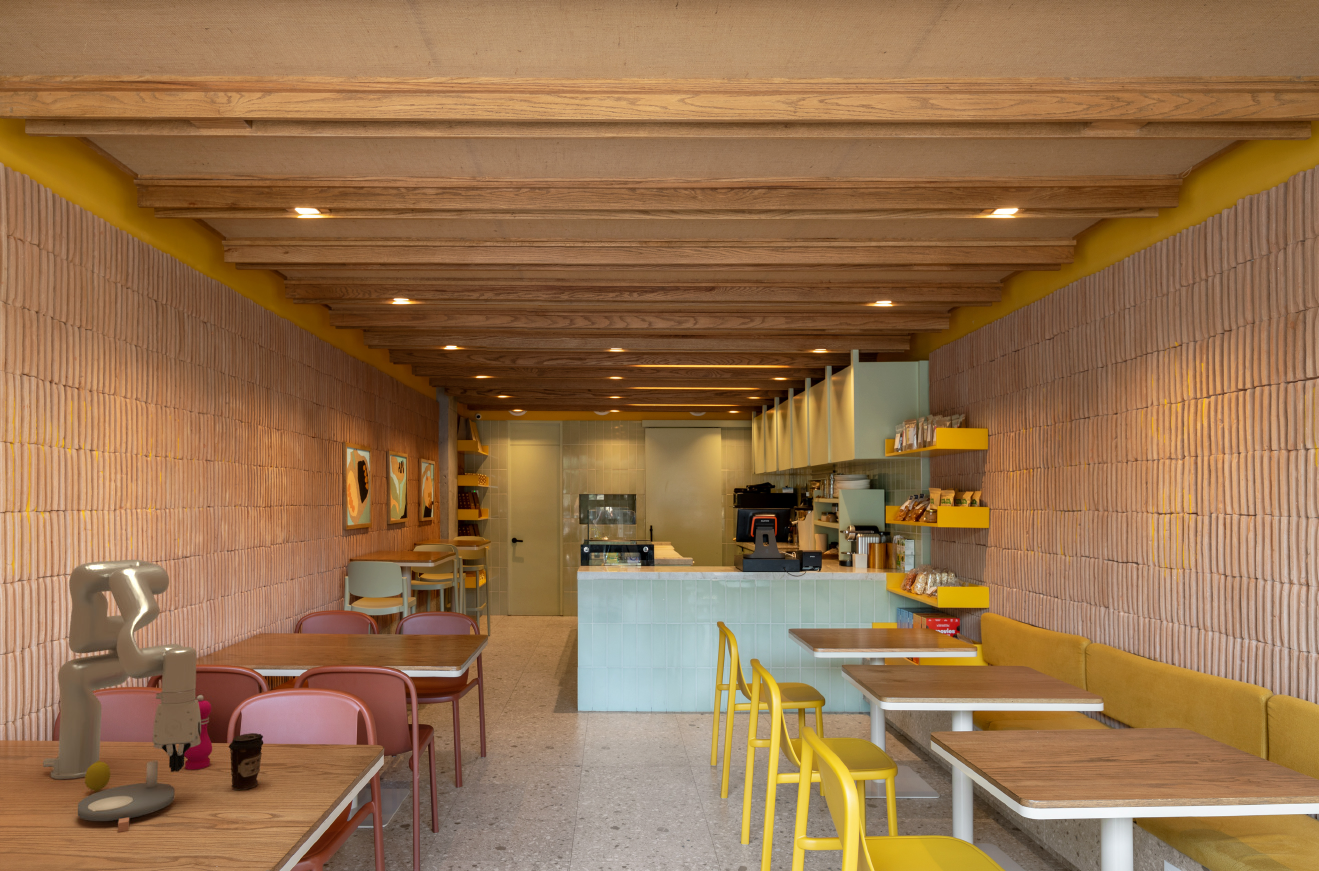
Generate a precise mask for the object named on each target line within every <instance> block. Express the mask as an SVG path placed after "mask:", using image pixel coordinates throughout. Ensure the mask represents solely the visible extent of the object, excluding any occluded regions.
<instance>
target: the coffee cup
mask: <svg viewBox="0 0 1319 871" xmlns="http://www.w3.org/2000/svg"><path fill="white" fill-rule="evenodd" d="M263 738H264V736H263V735H262V734H261V733H255V732H254V733H253V732H251V733H243V734H240V735H236V736H235V737H234V738H232V742H230V744H229V745H228V748H229V751H230V752H229V753H230V772H231V773H230V775H231V788H232V790H235V791H240V790H241V791H242V790H248V789H252V788H255V787H257V785H259V780H258V779H257V778H258V775H259V773H260V771H261V760H262V754H263V753H262V749H263V747H262V746H263V745H264V741H263Z"/></svg>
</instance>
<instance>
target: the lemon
mask: <svg viewBox="0 0 1319 871" xmlns="http://www.w3.org/2000/svg"><path fill="white" fill-rule="evenodd" d="M110 780H111V768H110V766H109V765H108V763H106V762H104V761H101V760H99V761H97V762H96V763H94V764H92V765H91V766H90V767H89V768H88V770H87V772H86V775H85V777H84V783H85V784H84V785H85V786H86V787H87V788H88V789H89V790H91V791H93V792H94V793H97V792H100V791H101V790H102V789H104V788H105V787H106V786H107V785H108V784H109V782H110Z"/></svg>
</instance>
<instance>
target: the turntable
mask: <svg viewBox="0 0 1319 871" xmlns="http://www.w3.org/2000/svg"><path fill="white" fill-rule="evenodd" d="M158 768H159V761H158V760H150V761H148V762H147V763H146V775H145V776H146V777H145V778H146V779H145V782H143V783H142V782H141V783H131V784H126V785H120V786H119V785H118V786H116V787H112V788H106V789H104V790H100V791H99V792H94V793H92V794H91V795H90V794H89V795H88V796H86V797H84V798H83V799H81V800H80V801H79V802H78V804H77V816H78V818H80V819H82V820H84V821H93V822H112V821H111V820H119V819H122V818H128V817H129V818H132V817H136V816H139V817H142V816H145V815H148V814H150V813H154V812H156V811H159V810H161V809H163V808H166V807H167V806H168V805H170V804H172V803H173V802H174V800H175V793H176V792H175V791H176V789H175V787H174V786H173V785H171V784H168V783H162V782H158V771H159V770H158ZM144 814H145V815H144ZM141 815H142V816H141ZM136 818H137V817H136ZM132 819H133V818H132Z"/></svg>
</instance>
